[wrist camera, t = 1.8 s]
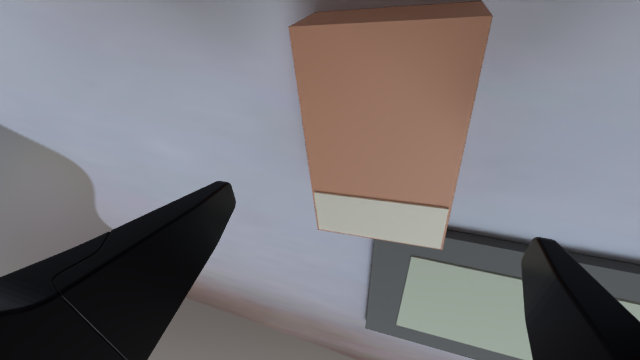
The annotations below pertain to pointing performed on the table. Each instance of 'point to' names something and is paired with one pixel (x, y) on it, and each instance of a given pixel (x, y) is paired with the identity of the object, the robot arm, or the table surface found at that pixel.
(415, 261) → the mat
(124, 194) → the table surface
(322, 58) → the block
